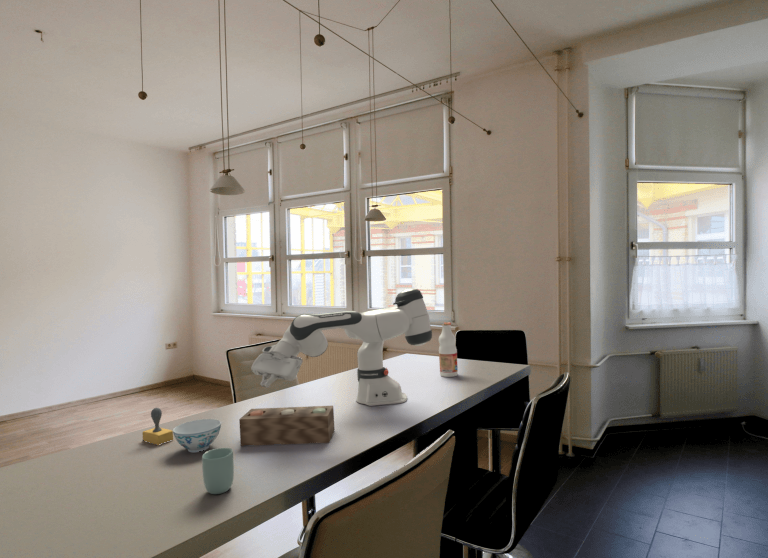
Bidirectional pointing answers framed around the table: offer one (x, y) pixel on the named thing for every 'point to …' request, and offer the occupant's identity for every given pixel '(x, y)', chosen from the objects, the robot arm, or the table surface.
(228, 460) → the cup
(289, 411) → the cream button
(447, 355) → the fruit juice
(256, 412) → the terracotta button
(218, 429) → the chinaware
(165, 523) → the table surface
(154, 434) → the rubber stamp
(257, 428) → the console
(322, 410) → the sage button
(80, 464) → the table surface
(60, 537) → the table surface
